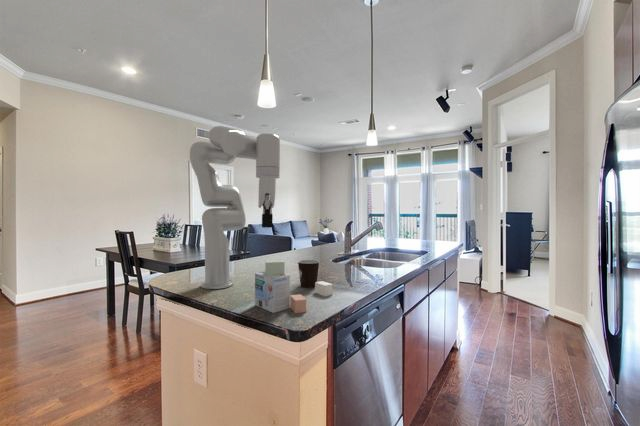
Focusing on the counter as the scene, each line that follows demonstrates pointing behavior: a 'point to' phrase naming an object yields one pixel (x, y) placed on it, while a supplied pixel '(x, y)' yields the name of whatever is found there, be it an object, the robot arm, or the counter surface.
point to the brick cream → (323, 288)
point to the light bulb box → (272, 291)
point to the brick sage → (274, 267)
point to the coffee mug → (308, 272)
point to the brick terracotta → (298, 303)
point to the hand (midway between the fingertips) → (267, 225)
